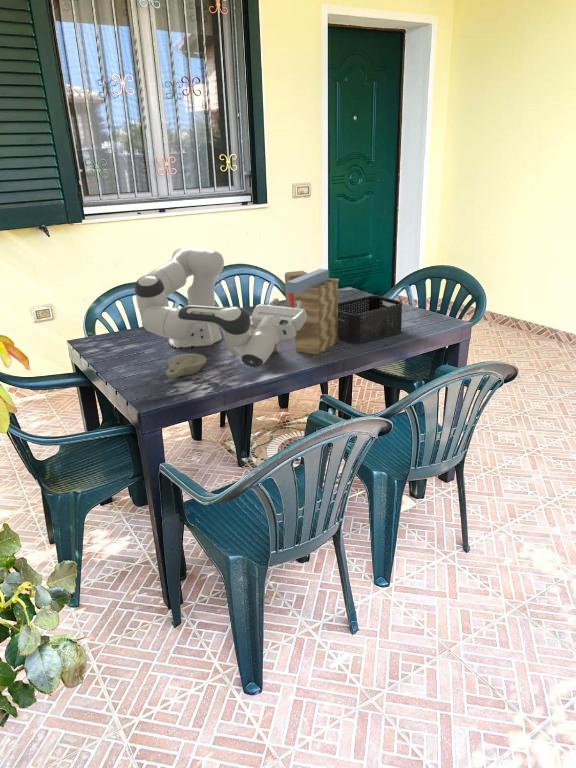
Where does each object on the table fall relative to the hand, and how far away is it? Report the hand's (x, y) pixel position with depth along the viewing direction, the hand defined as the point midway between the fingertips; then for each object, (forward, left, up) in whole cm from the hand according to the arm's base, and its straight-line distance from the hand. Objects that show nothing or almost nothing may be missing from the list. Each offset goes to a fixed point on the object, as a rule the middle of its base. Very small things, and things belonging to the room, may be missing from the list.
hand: (288, 300), depth 206 cm
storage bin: (+42, +22, -25) cm, 53 cm away
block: (+28, +66, -24) cm, 76 cm away
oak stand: (+17, +15, -24) cm, 33 cm away
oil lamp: (-39, +6, -25) cm, 46 cm away
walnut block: (-5, +17, -24) cm, 30 cm away
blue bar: (+13, +11, +2) cm, 17 cm away
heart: (+25, +48, -24) cm, 60 cm away
